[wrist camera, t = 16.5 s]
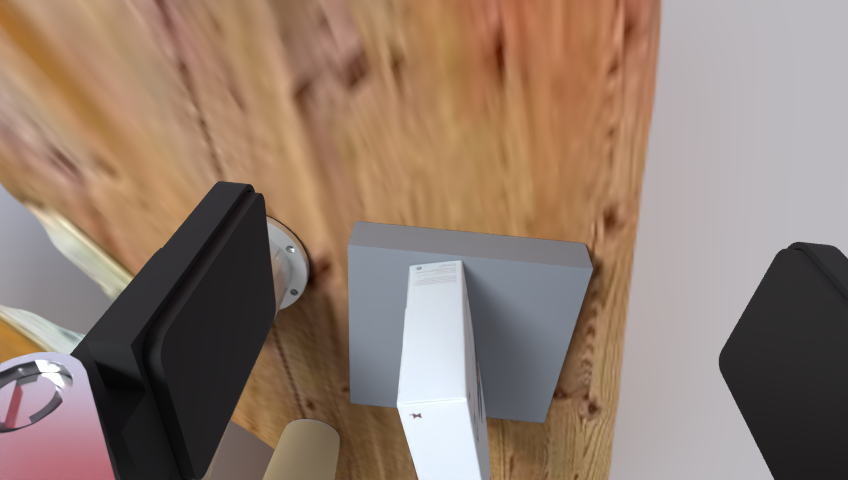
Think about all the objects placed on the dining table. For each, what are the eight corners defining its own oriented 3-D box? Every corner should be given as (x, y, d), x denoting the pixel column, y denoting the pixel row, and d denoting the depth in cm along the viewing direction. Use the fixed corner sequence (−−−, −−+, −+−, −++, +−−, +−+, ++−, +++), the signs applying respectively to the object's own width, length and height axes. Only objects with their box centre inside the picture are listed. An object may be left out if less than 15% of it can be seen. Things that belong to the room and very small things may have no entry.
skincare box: (491, 409, 59) (497, 561, 46) (442, 411, 60) (435, 561, 47) (468, 256, 47) (468, 401, 34) (408, 262, 48) (386, 406, 35)
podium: (540, 394, 63) (544, 423, 60) (356, 375, 63) (350, 403, 60) (585, 243, 50) (593, 268, 47) (355, 221, 51) (347, 244, 47)
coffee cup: (270, 445, 73) (238, 534, 63) (286, 406, 67) (255, 496, 58) (335, 464, 74) (314, 555, 64) (355, 427, 69) (336, 519, 59)
